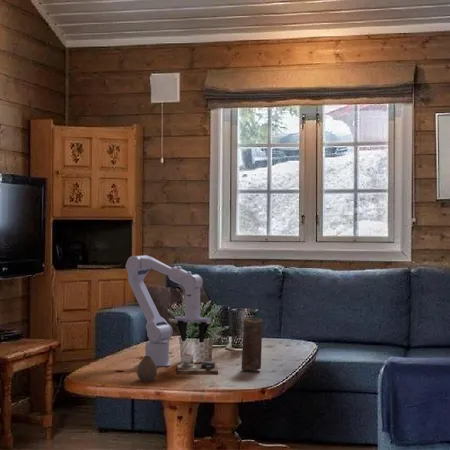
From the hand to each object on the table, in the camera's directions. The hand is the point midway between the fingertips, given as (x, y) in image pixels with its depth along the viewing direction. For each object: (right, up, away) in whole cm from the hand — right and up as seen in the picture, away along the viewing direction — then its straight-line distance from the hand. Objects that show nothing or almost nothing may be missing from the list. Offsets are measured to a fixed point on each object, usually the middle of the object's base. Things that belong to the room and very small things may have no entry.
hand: (192, 341), depth 346 cm
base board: (+2, -11, -4) cm, 11 cm away
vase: (-15, -11, -26) cm, 32 cm away
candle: (+22, -11, -3) cm, 25 cm away
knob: (-2, -9, -4) cm, 10 cm away
